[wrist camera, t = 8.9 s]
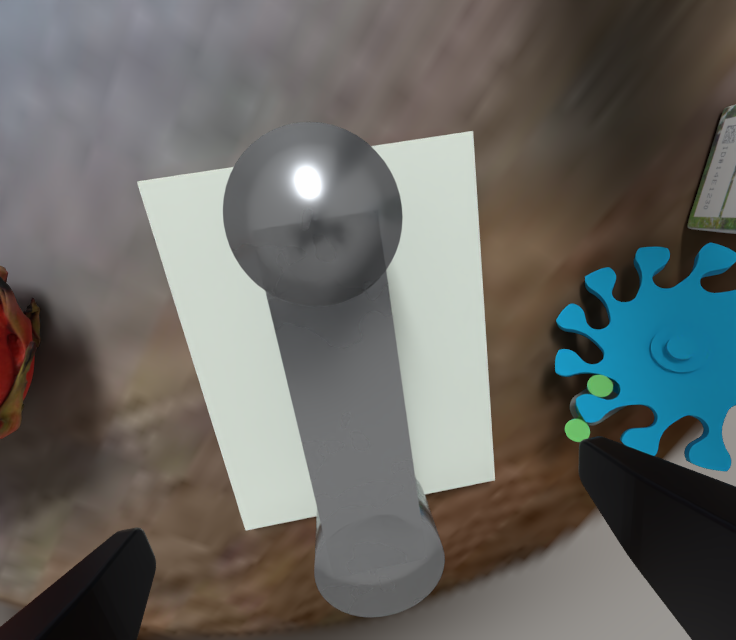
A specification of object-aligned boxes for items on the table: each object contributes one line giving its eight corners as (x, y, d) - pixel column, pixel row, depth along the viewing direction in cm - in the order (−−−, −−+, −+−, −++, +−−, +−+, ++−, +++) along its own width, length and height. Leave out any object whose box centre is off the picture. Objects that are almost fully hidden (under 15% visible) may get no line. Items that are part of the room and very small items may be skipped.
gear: (690, 193, 17) (956, 372, 12) (666, 244, 22) (849, 385, 18) (490, 343, 20) (647, 535, 15) (509, 358, 25) (631, 506, 20)
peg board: (464, 135, 17) (504, 114, 13) (487, 468, 22) (520, 522, 18) (148, 183, 16) (92, 175, 12) (249, 516, 22) (232, 582, 18)
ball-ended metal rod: (376, 131, 13) (390, 109, 10) (430, 540, 18) (449, 602, 15) (229, 153, 13) (200, 136, 10) (327, 561, 18) (327, 628, 15)
